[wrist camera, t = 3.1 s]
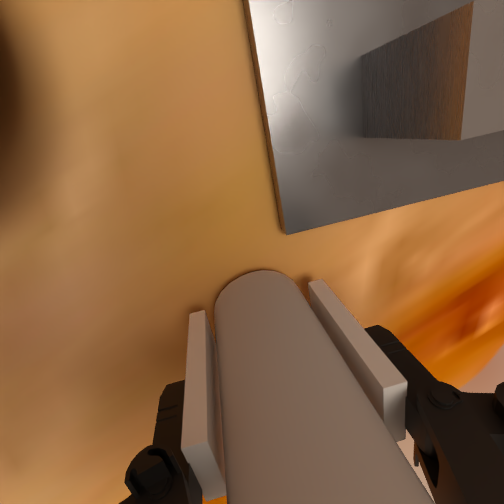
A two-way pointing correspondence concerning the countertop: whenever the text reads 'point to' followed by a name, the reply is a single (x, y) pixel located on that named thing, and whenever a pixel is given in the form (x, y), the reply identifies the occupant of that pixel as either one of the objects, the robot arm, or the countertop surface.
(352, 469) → the beverage can
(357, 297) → the countertop surface
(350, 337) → the robot arm
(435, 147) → the grey vise base
